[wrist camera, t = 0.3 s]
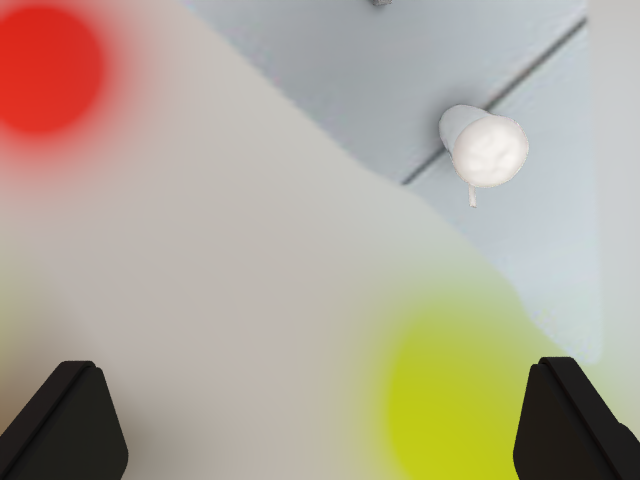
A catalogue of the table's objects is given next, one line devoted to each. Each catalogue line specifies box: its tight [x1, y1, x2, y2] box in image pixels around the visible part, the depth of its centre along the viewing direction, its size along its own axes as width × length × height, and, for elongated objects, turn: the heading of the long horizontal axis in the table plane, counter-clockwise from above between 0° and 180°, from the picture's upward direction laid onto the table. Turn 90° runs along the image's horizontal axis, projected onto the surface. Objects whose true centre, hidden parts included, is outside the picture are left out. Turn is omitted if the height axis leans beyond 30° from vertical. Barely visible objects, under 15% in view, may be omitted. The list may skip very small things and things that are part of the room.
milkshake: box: [438, 104, 529, 208], centre depth 31 cm, size 5×5×10 cm
